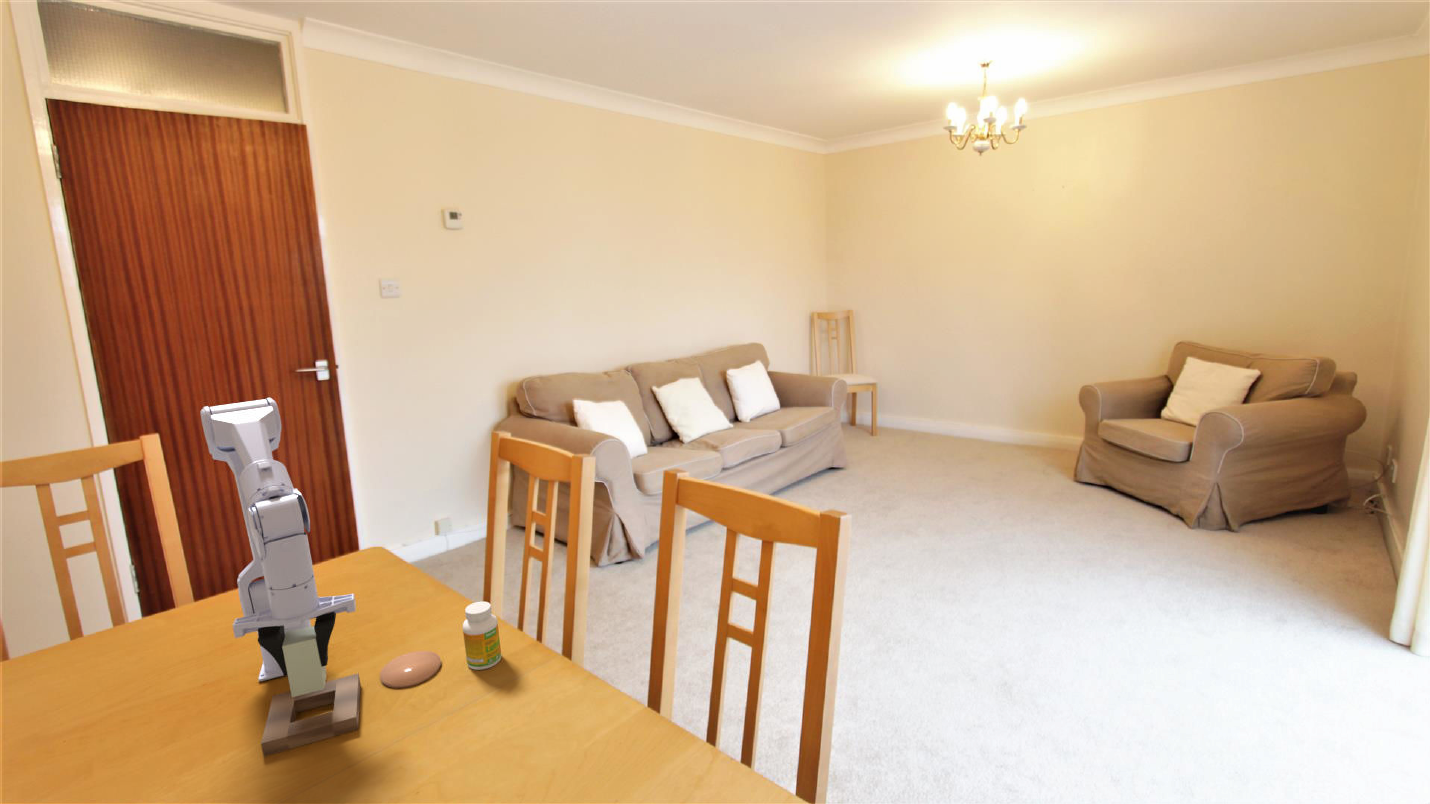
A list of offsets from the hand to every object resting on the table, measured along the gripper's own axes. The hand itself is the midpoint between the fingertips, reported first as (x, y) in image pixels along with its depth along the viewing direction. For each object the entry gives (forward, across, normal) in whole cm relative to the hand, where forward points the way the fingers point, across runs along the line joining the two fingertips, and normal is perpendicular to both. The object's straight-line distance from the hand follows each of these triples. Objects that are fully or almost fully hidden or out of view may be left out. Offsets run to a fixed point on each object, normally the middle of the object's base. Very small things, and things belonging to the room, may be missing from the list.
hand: (306, 667), depth 97 cm
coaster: (+8, +13, +6) cm, 17 cm away
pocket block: (+8, 0, 0) cm, 8 cm away
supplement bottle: (+9, +24, +3) cm, 26 cm away
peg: (+3, 0, 0) cm, 3 cm away
